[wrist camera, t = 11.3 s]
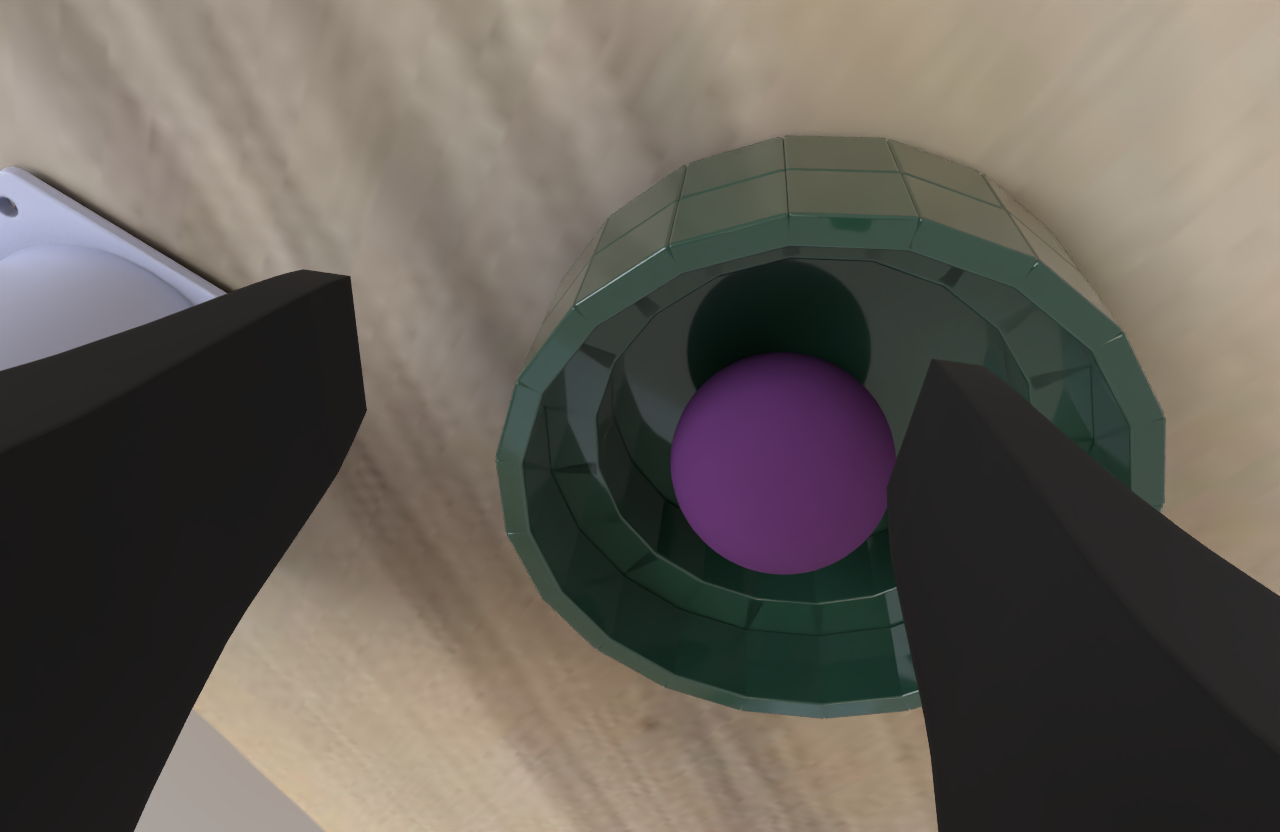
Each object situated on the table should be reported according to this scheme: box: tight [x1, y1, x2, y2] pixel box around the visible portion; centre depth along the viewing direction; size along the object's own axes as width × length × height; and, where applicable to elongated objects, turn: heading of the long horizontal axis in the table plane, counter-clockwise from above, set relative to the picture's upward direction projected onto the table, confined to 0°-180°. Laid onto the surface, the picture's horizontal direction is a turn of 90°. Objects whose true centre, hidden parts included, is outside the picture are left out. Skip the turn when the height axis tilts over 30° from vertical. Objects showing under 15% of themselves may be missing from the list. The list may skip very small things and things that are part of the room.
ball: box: [671, 352, 896, 575], centre depth 19 cm, size 5×5×5 cm
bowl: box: [496, 136, 1166, 719], centre depth 19 cm, size 13×13×5 cm
